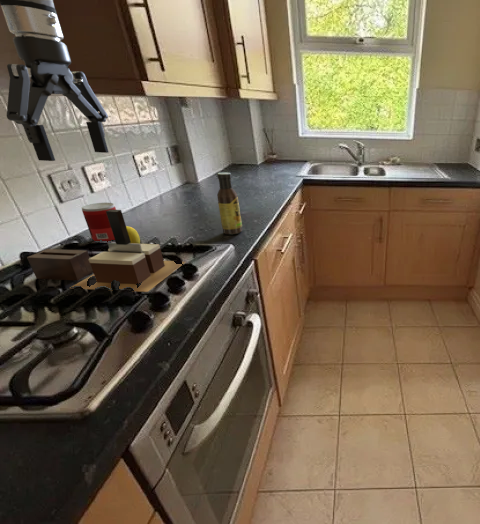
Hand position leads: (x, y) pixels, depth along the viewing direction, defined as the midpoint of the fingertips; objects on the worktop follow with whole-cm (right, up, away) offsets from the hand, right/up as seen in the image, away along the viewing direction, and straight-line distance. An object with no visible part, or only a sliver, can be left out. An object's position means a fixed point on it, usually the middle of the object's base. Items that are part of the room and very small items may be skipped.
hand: (76, 156), depth 71 cm
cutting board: (+5, -27, +11) cm, 29 cm away
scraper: (+5, -26, +10) cm, 28 cm away
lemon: (-6, -20, +26) cm, 33 cm away
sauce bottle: (+16, -13, +42) cm, 47 cm away
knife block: (-10, -27, +9) cm, 31 cm away
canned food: (-19, -16, +33) cm, 41 cm away
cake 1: (+5, -27, +7) cm, 28 cm away
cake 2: (+5, -25, +13) cm, 28 cm away
